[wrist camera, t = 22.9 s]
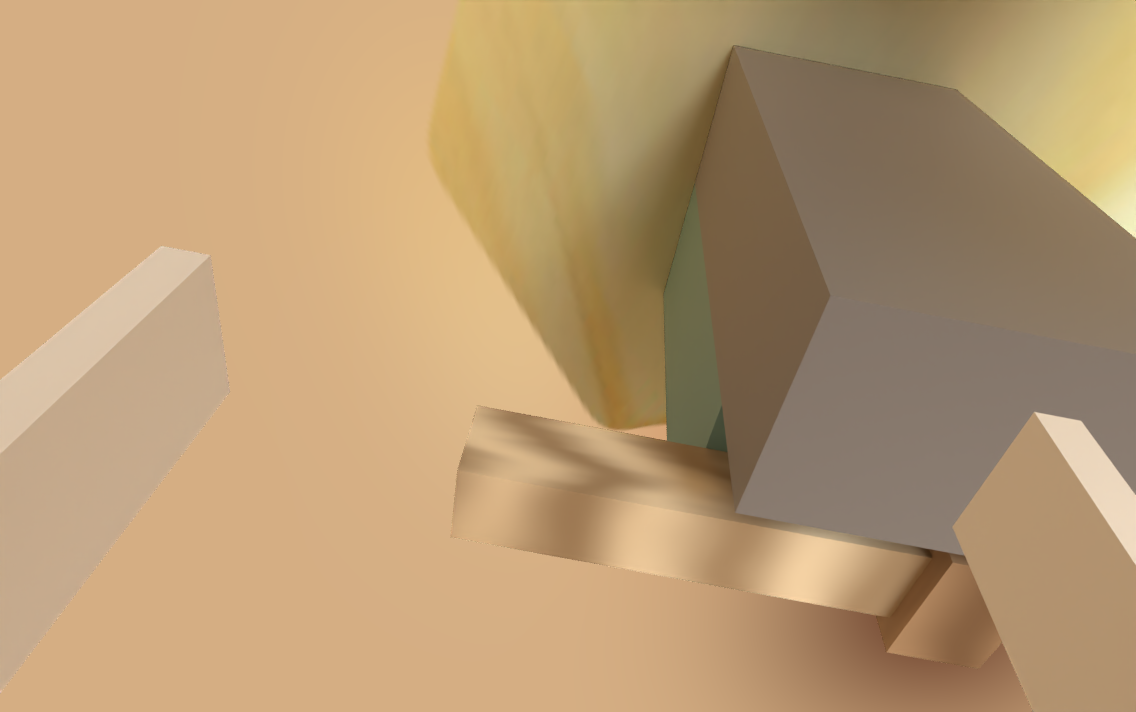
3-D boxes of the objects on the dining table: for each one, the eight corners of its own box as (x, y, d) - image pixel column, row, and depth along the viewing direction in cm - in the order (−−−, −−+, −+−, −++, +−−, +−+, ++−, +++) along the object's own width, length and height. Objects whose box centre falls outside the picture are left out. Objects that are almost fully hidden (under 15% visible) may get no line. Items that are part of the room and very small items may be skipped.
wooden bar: (467, 485, 35) (443, 571, 31) (479, 387, 31) (453, 470, 27) (940, 572, 35) (978, 668, 31) (1004, 486, 32) (1056, 581, 27)
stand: (663, 294, 55) (672, 656, 31) (733, 45, 45) (830, 295, 20) (844, 328, 55) (994, 714, 31) (956, 89, 45) (1316, 389, 21)
